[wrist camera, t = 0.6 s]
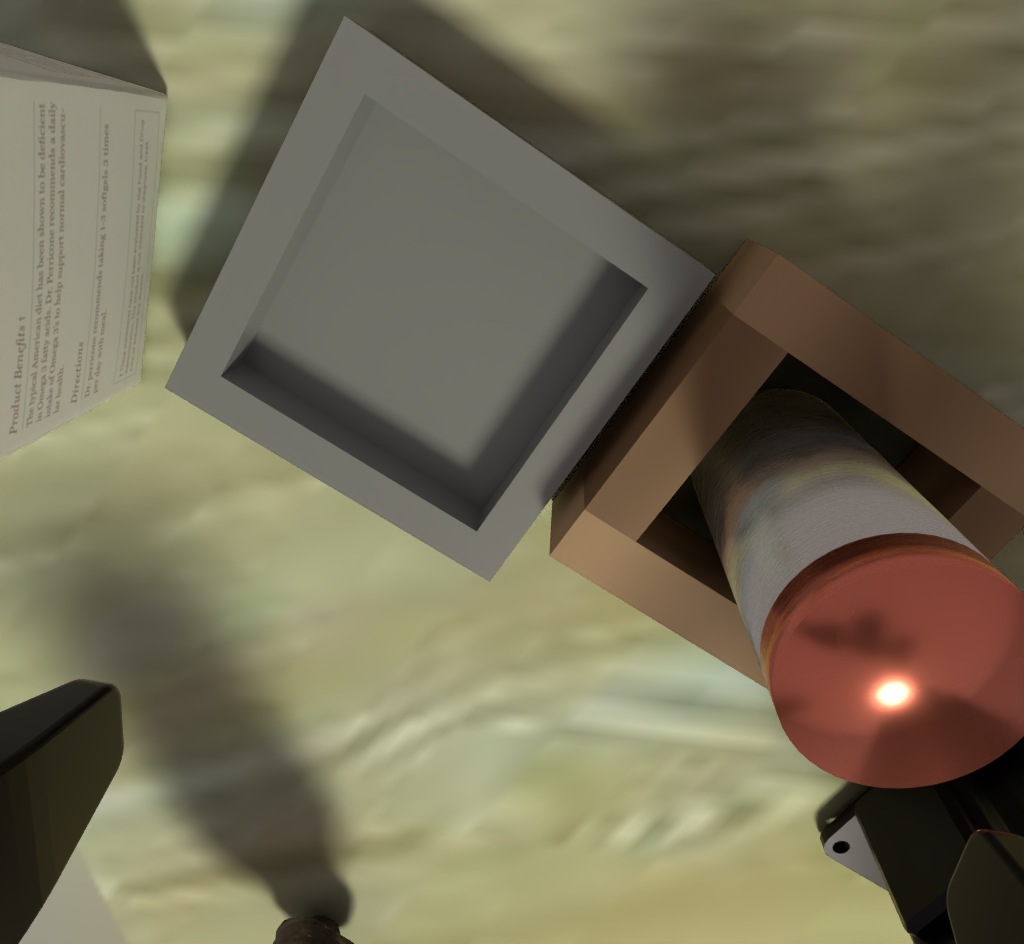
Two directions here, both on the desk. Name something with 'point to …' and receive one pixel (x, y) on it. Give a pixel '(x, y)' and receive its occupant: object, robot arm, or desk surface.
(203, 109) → the desk surface
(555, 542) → the socket block
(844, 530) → the grey and red cylinder
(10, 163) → the supplement box
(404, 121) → the tray
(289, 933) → the light bulb
